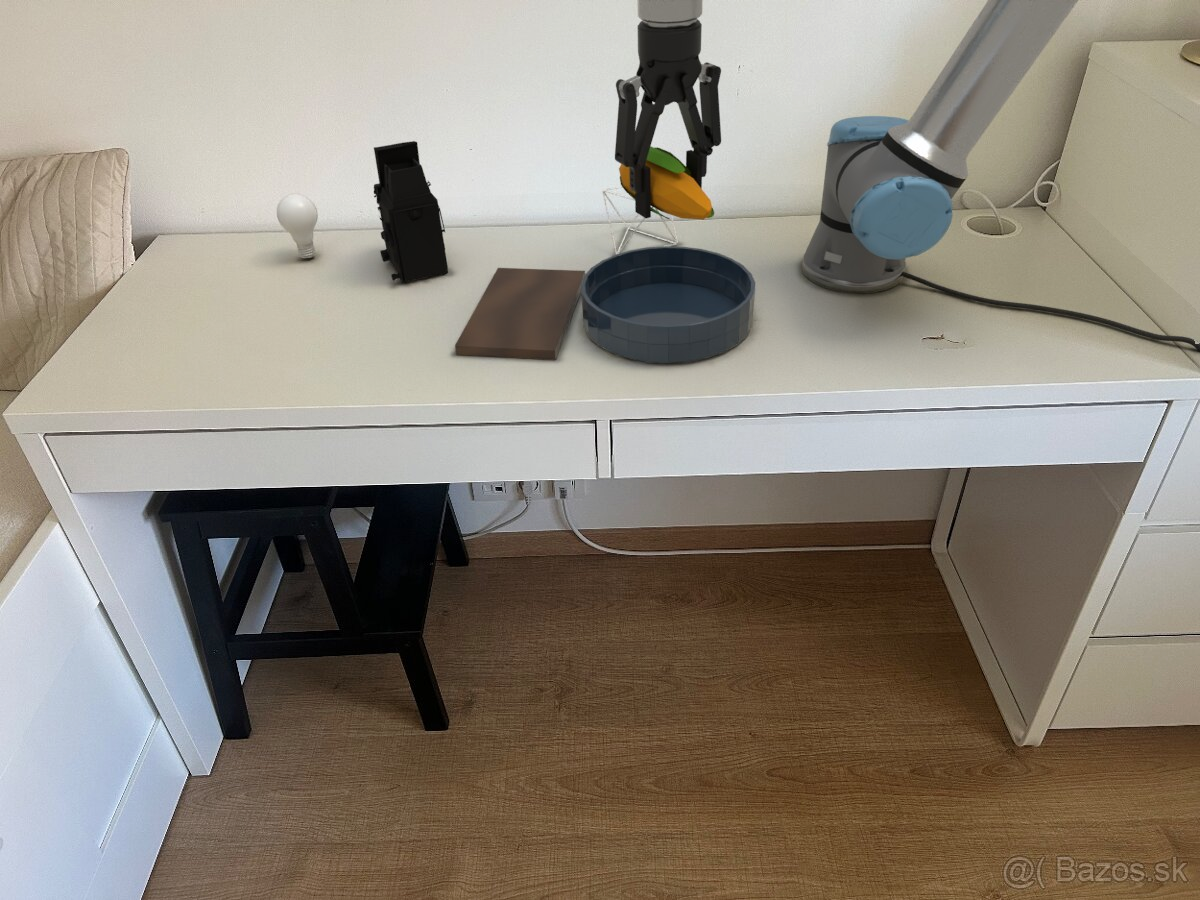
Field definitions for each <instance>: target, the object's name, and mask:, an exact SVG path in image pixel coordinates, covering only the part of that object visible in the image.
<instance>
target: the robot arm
mask: <svg viewBox="0 0 1200 900" xmlns="http://www.w3.org/2000/svg"><path fill="white" fill-rule="evenodd" d="M1078 2H1079V0H987V1H986V3H985V4H984V6H983V7H982V9H981V10H980V11H979V13H978V15H977V17H976V18H975V19H974V21H973V22H972V24H971V25H970V27H969V28H968V30H967V32H966V33H965V34H964V36H963V37H962V39H961V40H960V42H959V44H958V45H957V47H956V48H955V50H954V51H953V53H952V54H951V56H950V58H949V59H948V61H947V62H946V64H945V65H944V67H943V68H942V70H941V71H940V73H938V76H937V77H936V79H935V80H934V82H933V83H932V85H931V86H930V88H929V89H928V91H927V93H926V94H925V96H924V97H923V99H922V100H921V102H920V103H919V105H918V107H917V108H916V109H915V111H914V112H913V114H912V115H911V117H910V119H907V118H901V117H897V116H896V117H894V116H886V115H885V116H884V115H864V116H862V115H861V116H852V117H847V118H842V119H840V120H838V121H836V122H834V124H833V125H832V126H831V128H830V133H829V138H828V141H827V144H826V146H827V152H826V153H827V154H826V161H825V162H826V163H825V170H824V178H823V179H824V180H823V188H822V198H821V205H820V206H821V207H820V216H819V222H818V223H817V226H816V228H815V230H814V232H813V234H812V237H811V239H810V240H809V243H808V245H807V247H806V249H805V252H804V254H803V260H802V266H801V267H802V269H801V270H802V273H803V274H804V276H805V278H807V279H808V280H809V281H811V282H812V283H813V284H816V285H818V286H820V287H823V288H824V289H829V290H831V291H836V292H840V293H847V294H848V293H849V294H870V293H878V292H883V291H886V290H890V289H892V288H894V287H896V286H897V285H899V284H900V283H901V282H902V281H903V279H904V278H906V279H909V280H912V281H914V282H917V283H919V284H921V285H924V286H926V287H928V288H931V289H934V290H937V291H939V292H943V293H946V294H949V295H952V296H956V297H959V298H962V299H966V300H968V301H969V300H970V301H973V302H978V303H982V304H987V305H992V306H993V305H994V306H999V307H1007V308H1015V309H1016V308H1017V309H1025V310H1031V311H1040V312H1046V313H1052V314H1057V315H1062V316H1068V317H1072V318H1073V317H1074V318H1077V319H1083V320H1087V321H1092V322H1094V323H1095V322H1096V323H1099V324H1103V325H1106V326H1110V327H1114V328H1117V329H1120V330H1123V331H1126V332H1129V333H1132V334H1135V335H1138V336H1142V337H1145V338H1148V339H1152V340H1157V341H1164V342H1179V343H1185V344H1188V345H1191V346H1192V347H1194V348H1195V349H1196V350H1197V352H1199V353H1200V342H1199V344H1195V341H1194V340H1195V339H1194V338H1191V337H1188V336H1180V335H1179V336H1178V335H1164V334H1158V333H1154V332H1150V331H1146V330H1143V329H1141V328H1140V329H1139V328H1136V327H1135V326H1130V325H1127V324H1125V323H1121V322H1118V321H1116V320H1115V321H1114V320H1111V319H1108V318H1104V317H1101V316H1096V315H1092V314H1088V313H1083V312H1078V311H1073V310H1068V309H1063V308H1057V307H1050V306H1046V305H1045V306H1044V305H1038V304H1031V303H1024V302H1015V301H1004V300H999V299H998V300H997V299H992V298H986V297H981V296H977V295H973V294H969V293H965V292H961V291H958V290H955V289H951V288H949V287H946V286H943V285H940V284H938V283H937V284H936V283H934V282H931V281H929V280H927V279H924V278H922V277H920V276H918V275H917V276H916V275H914V274H911V273H909V272H906V264H907V263H906V259H908V258H911V257H917V256H920V255H922V254H925V253H926V252H927V251H929V250H931V249H932V248H933V247H934V246H936V245H937V244H938V243H939V242H940V241H941V240H942V239H943V237H944V236H945V235H946V234H947V232H948V230H949V228H950V226H951V223H952V220H953V209H954V207H953V200H952V199H953V198H954V197H955V195H956V194H957V192H958V191H959V189H960V188H961V186H962V185H963V184H964V182H965V181H966V180H967V178H968V176H969V170H968V164H967V159H968V156H969V154H970V153H971V152H972V150H973V149H974V148H975V146H976V145H977V143H978V142H979V140H980V139H981V138H982V136H983V135H984V134H985V132H986V130H987V129H988V128H989V126H990V125H991V123H992V122H993V121H994V120H995V118H996V117H997V116H998V113H1000V111H1001V110H1002V109H1003V107H1004V105H1005V104H1006V102H1007V101H1008V100H1009V99H1010V97H1011V96H1012V94H1013V93H1014V91H1015V90H1016V89H1017V87H1018V86H1019V84H1020V83H1021V82H1022V80H1023V79H1024V77H1025V76H1026V74H1027V73H1028V72H1029V70H1031V67H1032V66H1033V65H1034V63H1035V62H1036V60H1037V59H1038V57H1040V55H1041V54H1042V52H1043V51H1044V50H1045V48H1046V46H1047V45H1048V43H1049V42H1050V41H1051V40H1052V38H1053V37H1054V35H1055V33H1056V32H1057V31H1058V30H1059V28H1060V27H1061V25H1062V24H1063V23H1064V21H1065V20H1066V18H1067V17H1068V16H1069V14H1070V13H1071V11H1072V10H1073V9H1074V8H1075V6H1076V4H1077V3H1078ZM636 4H637V17H638V18H639V19H640V20H641V21H640V22H639V24H638V25H637V56H638V59H639V64H638V68H637V71H636V74H635V75H634V76H633V77H630V78H628V79H622V78H620V79H619V78H618V80H617V81H616V82H615V88H616V93H617V97H618V108H617V122H616V135H615V147H614V148H615V149H614V160H615V161H616V162H617V163H619V164H620V165H621V164H622V165H624V166H626V167H629V175H630V188H631V190H632V191H633V192H635V200H634V201H635V202H634V203H635V204H634V207H635V210H634V211H635V213H636V214H637V215H638V214H639V216H641V217H642V218H645V219H650V218H652V211H651V207H652V206H651V168H650V167H648V166H646V165H645V163H646V160H647V156H648V153H649V150H650V146H651V147H652V142H653V138H654V136H655V133H656V129H657V126H658V122H659V119H660V116H661V115H662V114H663V113H664V110H665V108H666V107H665V106H669V105H671V104H673V103H676V104H677V106H678V109H679V111H680V115H681V118H682V120H683V124H684V128H685V130H686V133H687V137H688V139H689V143H690V146H691V148H692V149H693V150H692V149H689V150H686V151H685V166H686V167H687V168H688V169H689V171H690V173H691V175H690V177H692V178H693V179H694V180H695V181H696V183H697V184H698V185H699V186H700V188H701V189H702V187H703V178H704V177H706V175H707V172H708V170H707V169H708V168H707V167H708V166H707V165H708V157H709V156H711V155H712V154H713V151H714V149H713V148H714V147H719V146H720V145H721V143H722V129H721V115H720V113H721V112H720V98H719V97H720V96H719V83H720V80H721V79H720V78H721V75H722V74H721V73H722V69H721V66H718V65H716V64H713V63H710V62H704V63H702V62H701V60H700V56H699V55H700V54H701V51H702V32H703V31H702V25H703V24H702V22H701V21H700V20H699V18H700V17H701V16H703V0H637V3H636ZM697 80H698V81H699V85H698V86H699V88H698V89H699V100H700V112H699V108H698V105H697V104H698V98H697V96H696V93H695V89H694V86H695V84H696V82H697ZM640 88H641V89H642V90H643V94H642V98H641V102H640V108H641V109H640V113H639V117H638V119H637V115H638V98H639V96H640ZM700 113H701V115H700ZM702 190H703V189H702Z"/></svg>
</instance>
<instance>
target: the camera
mask: <svg viewBox="0 0 1200 900" xmlns="http://www.w3.org/2000/svg"><path fill="white" fill-rule="evenodd" d="M373 153H374V158H375V165H376V170H377V176H378V177H377V178H378V183H374V184H373V198H376V204H377V205H378V206H377V210H378V212H379V214H380V216H379V220H380V221H381V226H382V231H381V232H380V238H381V239H382V240H383V241H384V245H385V249H382V250H380V251H379V252H380V257H381V260H382V262H383V263H387V262H389V263H390V264H391V266H392V267H393V269H394V271H395V272H396V273H395V272H394V273H391V275H390V276H391V279H392V281H396V280H399V279H400V282H401V284H402V283H403V284H404V283H409V282H412V281H417V280H421V279H425V278H430V277H434V276H439V275H443V274H448V273H449V267H448V260H447V253H446V245H445V240H444V233H446V228H445V224H444V220H443V216H442V211H441V207H440V206H439V202H438V201H439V199H437V198H436V196H435V195H434V194H433V193H432V191H431V189H430V186H432V184H431V182H430V181H429V180H427V179H426V178H427V177H426V175H425V172H424V169H423V166H422V164H420V163H421V162H420V153H419V147H418V141H415V140H412V141H404V142H399V143H393V144H387V145H382V146H375V147H373Z"/></svg>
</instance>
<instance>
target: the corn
mask: <svg viewBox="0 0 1200 900" xmlns="http://www.w3.org/2000/svg"><path fill="white" fill-rule="evenodd" d="M645 165H646V166H648V167H650V168H651V213H654V214H656V215H658V216H659V215H660V216H662V218H665V219H666V220H671V217H668V216H665V215H663V214H662V213H664V214H667V215H670V216H671V215H672V217H676V218H679V219H688V220H705V219H709V218H713V217H714V216H715V211H714V210H715V209H714V208H713V206H712V205H713V204H712V201H711V199H710V198H709V197H708V195H707V194H706V193H705V191H704V190H703V189H701V188H700V186H699V185H698V184H697V183H696V181H695V180H694V179H693V178H692V177H690V175H691V173H690V171H689V169H688V168H687V167H686V164H684V163H683V162H682V160H681V159H679V158H678V157H677V156H675V155H674V154H673V153H672V152H671V151H669V150H665V149H663V148H660V147H657V146H656V147H655V146H654V147H653V146H652V145H651V146H650V150H649V153H648V156H647V160H646V163H645ZM618 170H619V175H620V176H619V182H620V187H621V186H622V187H623V188H622V189H623V191H624V192H626V193H627V194H628V196H629V197H630V198H633V199H634V200H633V201H635V192H633V191H632V190H631V188H630V175H629V167H626V166H624V165H622V164H621V163H620V166H619V167H618ZM652 207H653V208H652ZM655 208H656V209H658V211H659V212H658V211H656V209H655ZM661 212H662V213H661ZM660 216H659V217H660Z"/></svg>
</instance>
